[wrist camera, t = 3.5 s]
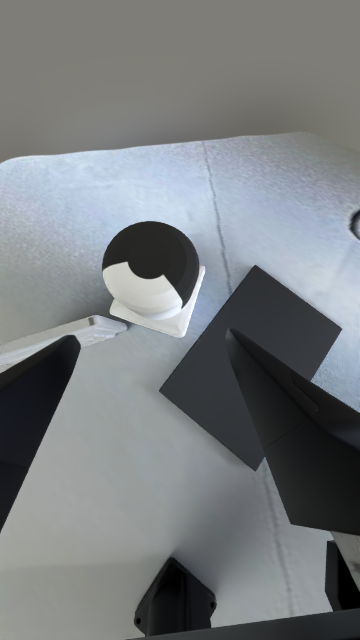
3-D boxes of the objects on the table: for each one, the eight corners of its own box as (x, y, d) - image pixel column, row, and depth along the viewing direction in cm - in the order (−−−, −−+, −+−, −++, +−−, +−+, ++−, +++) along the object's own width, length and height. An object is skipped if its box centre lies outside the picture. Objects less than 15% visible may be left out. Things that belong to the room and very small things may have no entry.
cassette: (39, 363, 18) (-56, 380, 11) (36, 349, 19) (-59, 356, 11) (129, 333, 19) (101, 329, 12) (125, 320, 20) (95, 308, 12)
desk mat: (252, 467, 18) (255, 472, 17) (159, 389, 19) (158, 391, 18) (337, 329, 21) (342, 328, 20) (253, 266, 21) (255, 264, 21)
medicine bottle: (148, 275, 21) (113, 188, 9) (196, 290, 21) (225, 224, 9) (131, 322, 20) (64, 296, 8) (180, 338, 20) (190, 337, 8)
